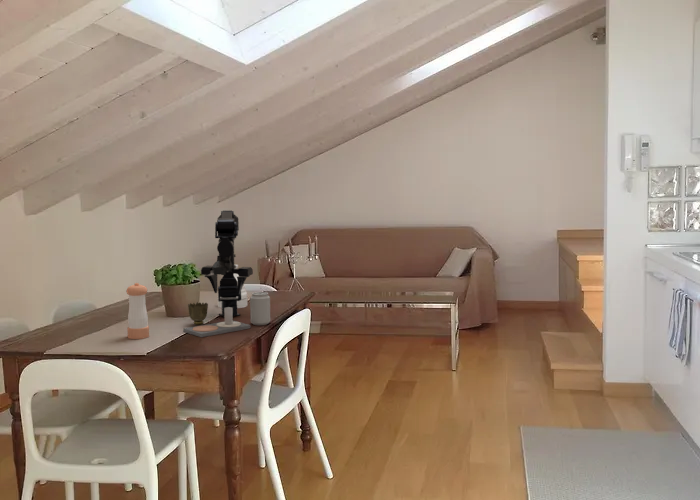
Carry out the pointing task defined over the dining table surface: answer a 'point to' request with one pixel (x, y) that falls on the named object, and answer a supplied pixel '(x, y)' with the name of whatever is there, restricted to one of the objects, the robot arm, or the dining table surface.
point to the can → (260, 308)
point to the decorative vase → (198, 312)
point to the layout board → (218, 326)
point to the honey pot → (242, 302)
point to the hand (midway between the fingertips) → (227, 293)
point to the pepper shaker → (137, 312)
